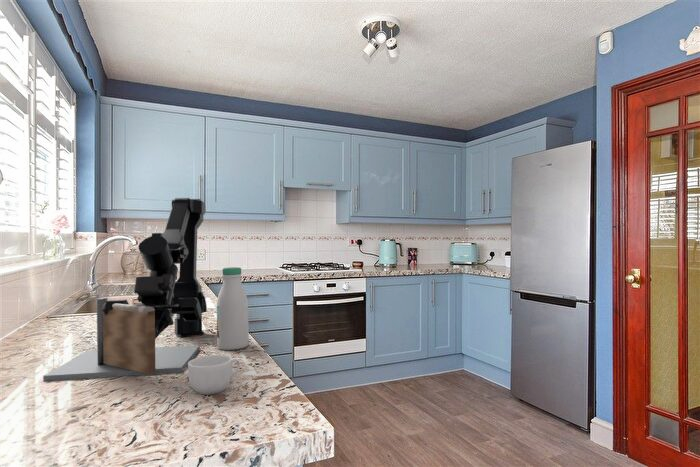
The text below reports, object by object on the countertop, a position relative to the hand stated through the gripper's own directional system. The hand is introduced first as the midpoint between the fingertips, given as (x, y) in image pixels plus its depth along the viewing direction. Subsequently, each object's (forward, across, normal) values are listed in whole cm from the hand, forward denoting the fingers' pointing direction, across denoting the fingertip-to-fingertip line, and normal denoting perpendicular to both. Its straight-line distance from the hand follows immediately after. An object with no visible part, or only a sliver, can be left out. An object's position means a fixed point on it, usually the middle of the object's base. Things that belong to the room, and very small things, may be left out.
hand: (145, 346), depth 84 cm
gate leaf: (+2, -4, +4) cm, 6 cm away
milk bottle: (-9, +14, +18) cm, 25 cm away
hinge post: (-1, -11, +8) cm, 14 cm away
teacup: (+11, +16, -3) cm, 19 cm away
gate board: (-2, -6, +11) cm, 13 cm away
